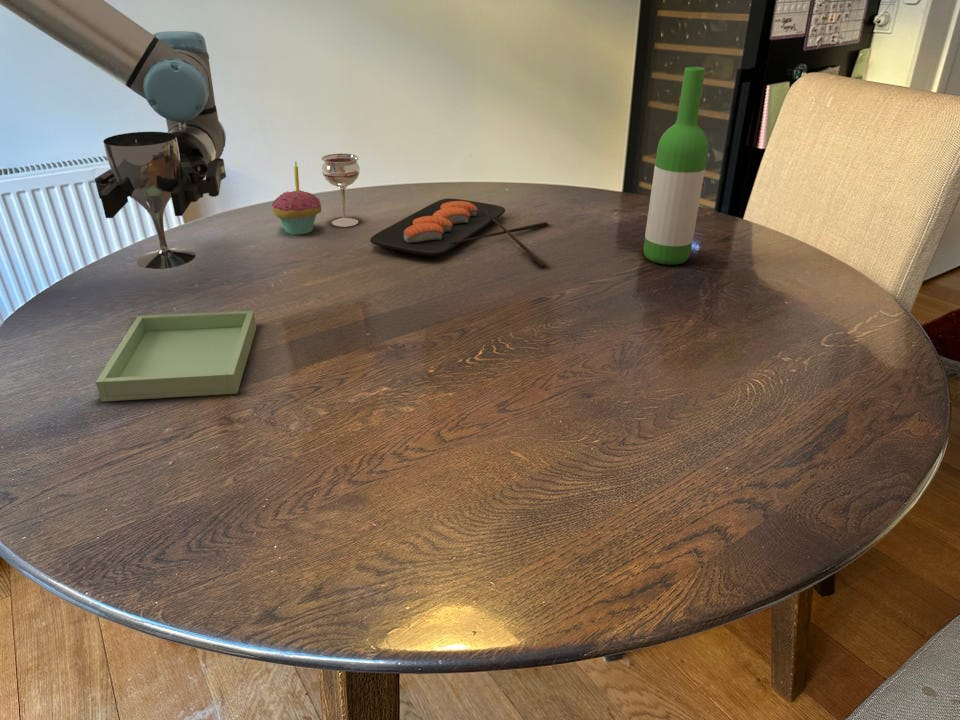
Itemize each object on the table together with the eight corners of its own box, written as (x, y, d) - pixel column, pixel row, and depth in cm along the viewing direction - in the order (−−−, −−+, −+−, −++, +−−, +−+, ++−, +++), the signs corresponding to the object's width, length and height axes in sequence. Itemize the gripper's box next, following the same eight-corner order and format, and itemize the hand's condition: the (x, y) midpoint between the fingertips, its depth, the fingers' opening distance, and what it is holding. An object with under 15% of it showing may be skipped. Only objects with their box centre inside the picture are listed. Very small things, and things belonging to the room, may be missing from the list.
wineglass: (339, 230, 128) (333, 164, 122) (319, 221, 132) (313, 157, 126) (370, 223, 132) (366, 158, 126) (350, 214, 136) (345, 151, 130)
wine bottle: (639, 263, 116) (665, 69, 101) (645, 247, 123) (670, 63, 108) (687, 269, 114) (721, 72, 99) (690, 253, 121) (723, 66, 106)
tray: (101, 401, 78) (95, 382, 77) (142, 333, 92) (137, 315, 91) (237, 393, 80) (233, 374, 78) (256, 327, 94) (253, 310, 93)
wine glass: (212, 255, 91) (190, 137, 83) (158, 275, 85) (130, 149, 78) (173, 243, 95) (149, 128, 87) (119, 261, 89) (88, 140, 81)
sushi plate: (445, 205, 142) (444, 187, 140) (586, 229, 131) (588, 209, 129) (363, 251, 119) (361, 229, 117) (526, 284, 108) (527, 261, 106)
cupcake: (283, 222, 131) (275, 157, 125) (328, 223, 131) (322, 158, 125) (269, 238, 124) (260, 170, 118) (317, 239, 124) (310, 171, 118)
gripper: (103, 131, 98) (39, 175, 78) (250, 129, 101) (225, 171, 81) (116, 185, 101) (58, 239, 82) (258, 181, 104) (235, 233, 85)
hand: (141, 205), depth 81 cm, fingers closed on wine glass, 7 cm apart
